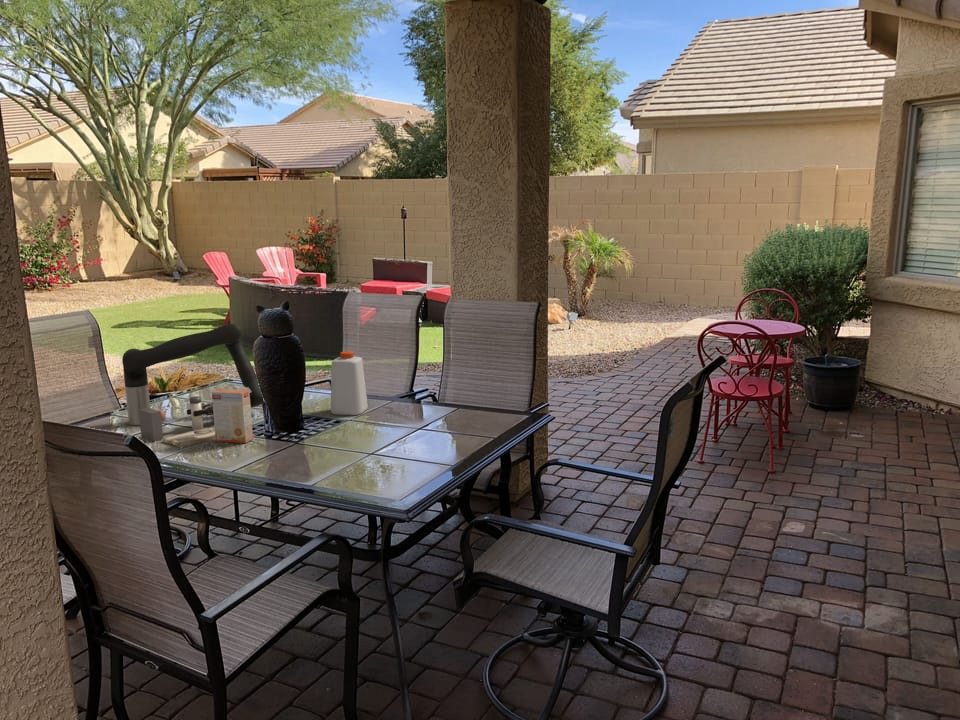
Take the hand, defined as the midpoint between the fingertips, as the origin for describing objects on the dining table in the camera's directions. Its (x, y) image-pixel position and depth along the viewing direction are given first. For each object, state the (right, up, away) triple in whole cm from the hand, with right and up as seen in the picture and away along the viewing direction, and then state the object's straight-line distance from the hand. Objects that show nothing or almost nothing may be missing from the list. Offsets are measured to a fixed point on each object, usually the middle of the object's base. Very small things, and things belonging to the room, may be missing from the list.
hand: (190, 413), depth 319 cm
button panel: (-12, -10, -9) cm, 18 cm away
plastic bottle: (+62, -1, +29) cm, 69 cm away
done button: (-10, -2, -7) cm, 13 cm away
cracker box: (+23, -10, -14) cm, 29 cm away
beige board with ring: (+6, -10, -11) cm, 16 cm away
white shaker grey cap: (+2, -7, +4) cm, 8 cm away
